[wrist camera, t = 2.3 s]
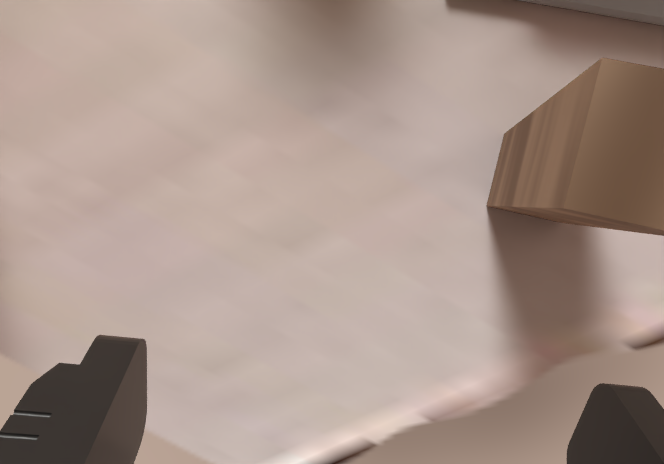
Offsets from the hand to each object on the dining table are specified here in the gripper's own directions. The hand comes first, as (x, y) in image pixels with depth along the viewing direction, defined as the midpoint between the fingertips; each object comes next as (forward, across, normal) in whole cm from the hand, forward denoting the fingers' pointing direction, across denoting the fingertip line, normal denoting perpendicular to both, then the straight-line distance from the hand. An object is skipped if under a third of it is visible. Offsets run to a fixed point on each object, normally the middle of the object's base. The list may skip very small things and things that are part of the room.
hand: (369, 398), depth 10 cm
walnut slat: (+20, -11, +2) cm, 23 cm away
